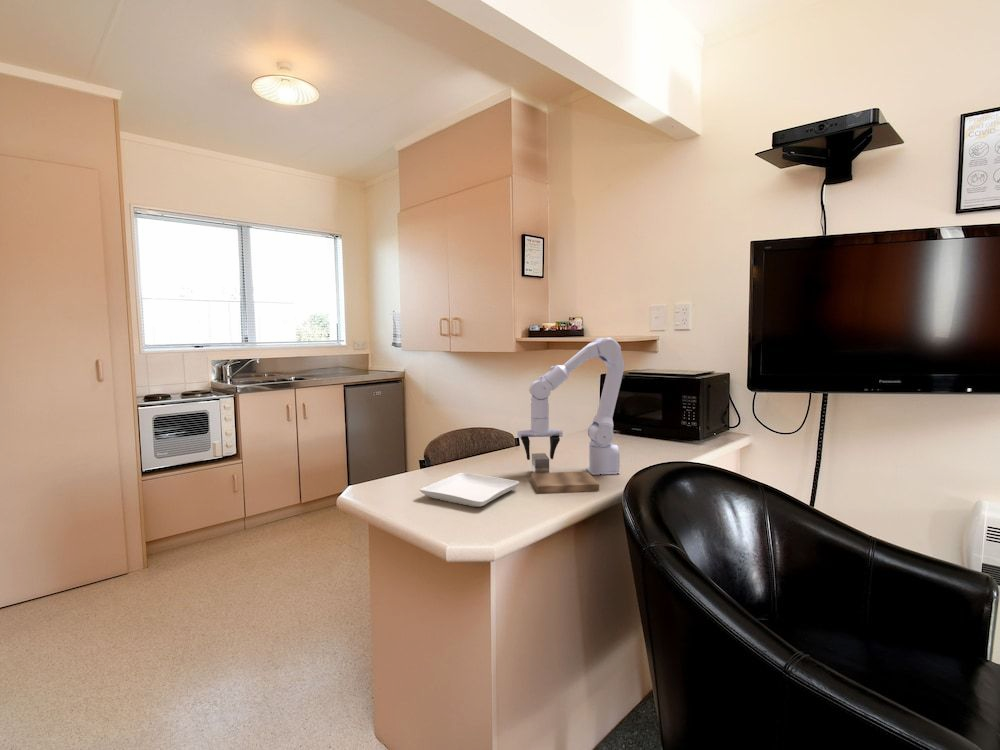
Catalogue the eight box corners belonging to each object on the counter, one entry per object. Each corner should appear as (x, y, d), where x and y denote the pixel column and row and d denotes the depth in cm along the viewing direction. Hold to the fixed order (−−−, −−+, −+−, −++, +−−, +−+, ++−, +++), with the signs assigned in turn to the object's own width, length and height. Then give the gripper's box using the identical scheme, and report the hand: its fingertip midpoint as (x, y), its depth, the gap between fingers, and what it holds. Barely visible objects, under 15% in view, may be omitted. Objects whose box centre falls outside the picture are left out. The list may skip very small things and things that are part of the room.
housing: (545, 470, 166) (545, 453, 166) (549, 477, 158) (549, 458, 158) (531, 471, 166) (531, 453, 165) (535, 477, 158) (535, 459, 157)
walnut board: (587, 477, 157) (587, 471, 157) (599, 490, 143) (599, 484, 143) (530, 479, 156) (530, 473, 156) (537, 493, 142) (537, 486, 142)
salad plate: (521, 491, 145) (521, 479, 145) (482, 513, 127) (482, 500, 127) (461, 481, 156) (461, 470, 156) (417, 501, 138) (417, 489, 137)
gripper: (559, 415, 165) (559, 455, 166) (516, 416, 164) (516, 456, 165) (563, 418, 158) (563, 460, 159) (518, 419, 157) (518, 461, 158)
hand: (540, 458), depth 162 cm, fingers open, 7 cm apart
